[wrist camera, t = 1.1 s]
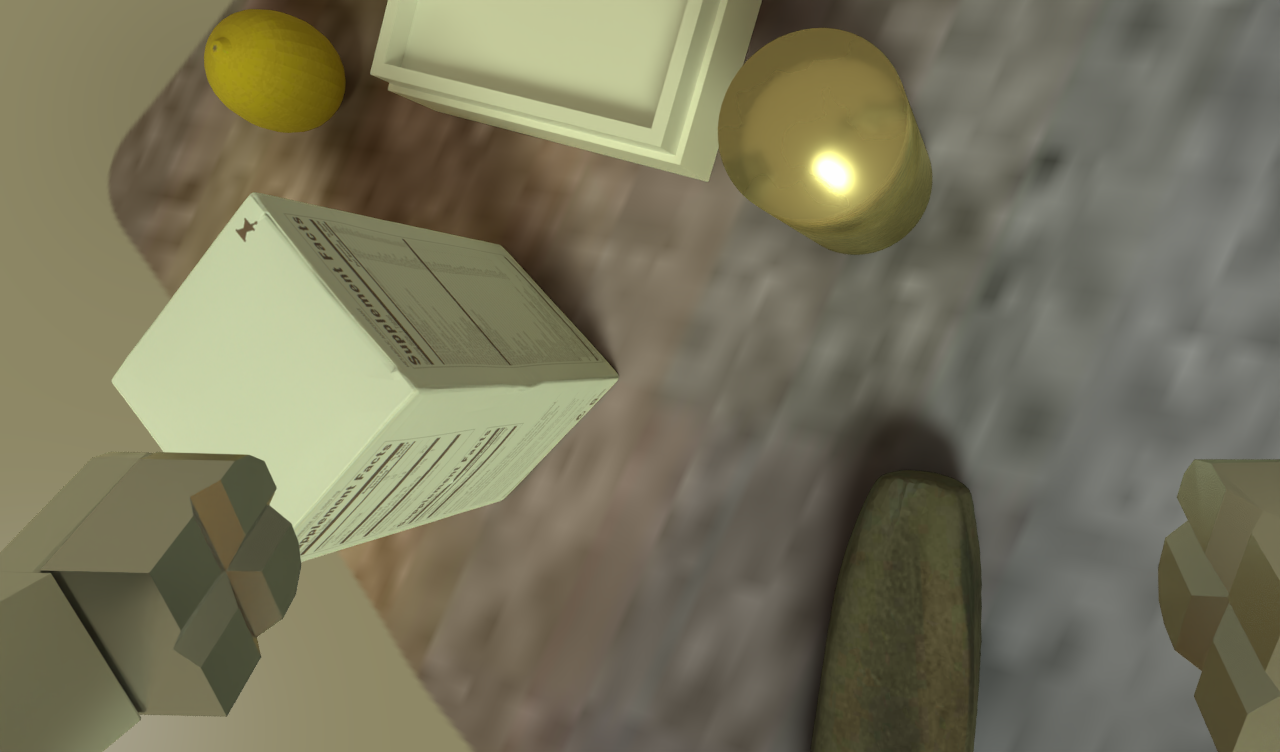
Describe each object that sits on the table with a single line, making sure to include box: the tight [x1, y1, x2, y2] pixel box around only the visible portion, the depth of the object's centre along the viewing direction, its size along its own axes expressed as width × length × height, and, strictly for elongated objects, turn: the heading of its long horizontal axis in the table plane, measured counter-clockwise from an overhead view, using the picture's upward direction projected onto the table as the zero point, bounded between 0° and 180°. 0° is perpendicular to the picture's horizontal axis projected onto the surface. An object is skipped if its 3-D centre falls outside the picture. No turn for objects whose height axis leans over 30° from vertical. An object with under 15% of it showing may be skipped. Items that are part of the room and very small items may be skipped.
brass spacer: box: [718, 28, 932, 255], centre depth 35 cm, size 6×6×11 cm
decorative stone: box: [811, 470, 982, 752], centre depth 38 cm, size 17×6×4 cm, turn 174°
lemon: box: [204, 9, 346, 133], centre depth 46 cm, size 6×6×8 cm
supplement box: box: [112, 192, 619, 562], centre depth 39 cm, size 10×9×17 cm
